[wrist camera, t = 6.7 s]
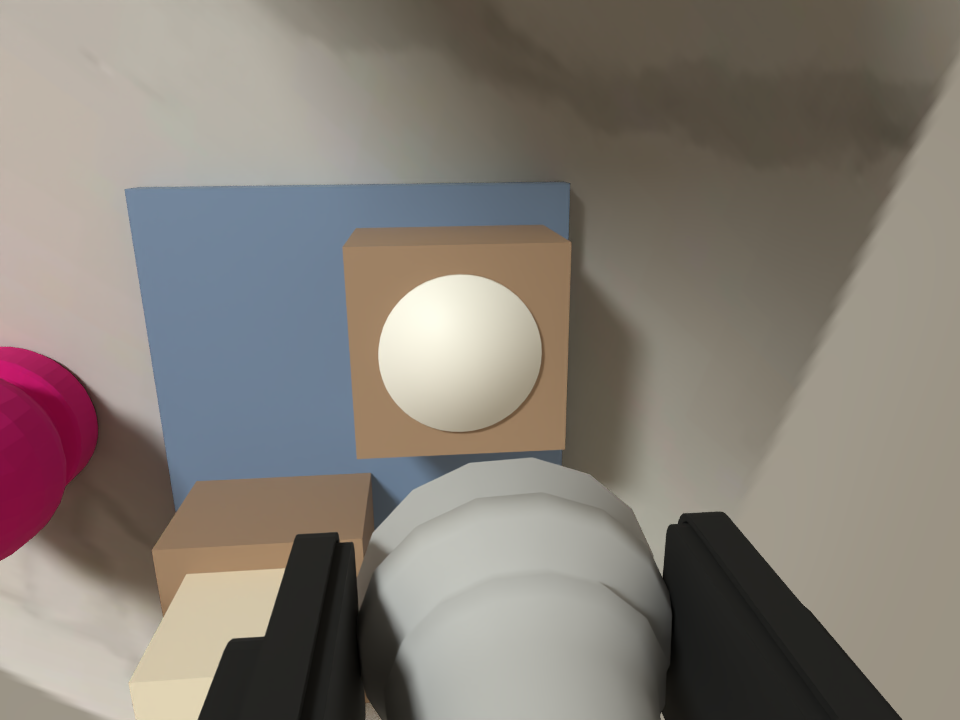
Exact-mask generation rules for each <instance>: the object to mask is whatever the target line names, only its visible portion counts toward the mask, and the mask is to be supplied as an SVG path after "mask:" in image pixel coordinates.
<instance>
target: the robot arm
mask: <svg viewBox="0 0 960 720" xmlns="http://www.w3.org/2000/svg"><path fill="white" fill-rule="evenodd" d="M663 580H664V582H665V585H666V587H667V589H668V591H669V593H670V601H671V610H672V628H671V655H670V666H669V668H668V670H667V672H666V700H665V706H664V708H663V710H662V714H663V716H664V718H665V720H902V719H901V717H900V716H899V715H898V714H897V713H896V711H895V710H894V709H893V708H892V707H891V706H890V704H889V703H888V702H887V701H886V700H885V699H884V697H883V696H882V695H881V694H880V693H879V692H878V690H877V689H876V688H875V687H874V686H873V684H872V683H871V682H870V681H869V680H868V679H867V677H866V676H865V675H864V674H863V673H862V672H861V670H860V669H859V668H858V667H857V666H856V664H855V663H854V662H853V661H852V660H851V659H850V657H849V656H848V655H847V654H846V653H845V651H844V650H843V649H842V648H841V647H840V645H839V644H838V643H837V642H836V641H835V640H834V638H833V637H832V636H831V635H830V634H829V633H828V631H827V630H826V629H825V628H824V627H823V625H822V624H821V623H820V622H819V621H818V620H817V618H816V617H815V616H814V615H813V614H812V612H811V611H809V610H808V609H807V608H806V607H805V606H804V605H803V604H802V603H801V602H800V601H799V600H798V599H797V597H796V596H795V595H794V594H793V593H792V592H791V590H790V589H789V588H788V587H787V586H786V584H785V583H784V582H783V581H782V580H781V579H780V577H779V576H778V575H777V574H776V573H775V571H774V570H773V569H772V568H771V567H770V565H769V564H768V563H767V562H766V561H765V560H764V558H763V557H762V556H761V555H760V554H759V553H758V551H757V550H756V549H755V548H754V546H753V545H752V544H751V543H750V542H749V541H748V539H747V538H746V537H745V536H744V535H743V533H742V532H741V531H740V530H739V529H738V528H737V526H736V525H735V524H734V523H733V522H732V520H731V519H730V518H729V517H728V516H727V515H726V514H725V513H724V512H702V513H683V514H682V515H681V516H680V519H679V521H678V524H671V525H669V526H668V529H667V533H666V544H665V556H664V568H663ZM358 613H359V604H358V590H357V576H356V562H355V549H354V543H353V542H340V539H339V534H338V532H327V533H309V534H297V535H296V537H295V539H294V542H293V545H292V549H291V552H290V555H289V558H288V562H287V565H286V568H285V571H284V575H283V578H282V581H281V584H280V588H279V591H278V594H277V597H276V601H275V604H274V607H273V610H272V614H271V617H270V620H269V623H268V627H267V630H266V633H265V636H263V637H248V638H233V639H231V640H230V641H229V642H228V643H227V645H226V647H225V649H224V651H223V654H222V657H221V659H220V662H219V664H218V667H217V670H216V672H215V675H214V678H213V680H212V683H211V685H210V688H209V691H208V693H207V696H206V699H205V701H204V704H203V707H202V709H201V712H200V714H199V717H198V720H365V690H364V686H363V683H362V679H361V673H360V663H359V653H358V644H357V634H356V625H357V616H358Z"/></svg>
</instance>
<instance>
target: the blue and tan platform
mask: <svg viewBox="0 0 960 720" xmlns="http://www.w3.org/2000/svg"><path fill="white" fill-rule="evenodd" d="M125 195H126V202H127V208H128V214H129V221H130V227H131V233H132V240H133V246H134V252H135V259H136V265H137V271H138V278H139V284H140V290H141V296H142V303H143V309H144V315H145V322H146V328H147V334H148V341H149V347H150V353H151V360H152V366H153V372H154V379H155V385H156V391H157V398H158V404H159V410H160V417H161V423H162V429H163V436H164V442H165V448H166V455H167V461H168V467H169V474H170V480H171V486H172V492H173V499H174V505H175V511H176V513H175V515H174V517H173V518H172V520H171V521H170V523H169V524H168V526H167V527H166V529H165V530H164V532H163V534H162V535H161V537H160V538H159V540H158V541H157V543H156V544H155V546H154V547H153V549H152V556H153V561H154V567H155V573H156V579H157V584H158V590H159V596H160V602H161V608H162V613H163V619H162V621H161V623H160V625H159V627H158V628H157V630H156V632H155V634H154V636H153V638H152V640H151V642H150V644H149V645H148V647H147V649H146V651H145V653H144V655H143V657H142V659H141V660H140V662H139V664H138V666H137V668H136V670H135V672H134V674H133V675H132V677H131V679H130V681H129V688H130V693H131V698H132V703H133V708H134V713H135V718H136V720H198V717H199V714H200V712H201V709H202V707H203V704H204V701H205V699H206V696H207V693H208V691H209V688H210V685H211V683H212V680H213V678H214V675H215V672H216V670H217V667H218V664H219V662H220V659H221V657H222V654H223V651H224V649H225V647H226V645H227V643H228V642H229V641H230V640H231V639H233V638H248V637H263V636H265V633H266V630H267V627H268V623H269V620H270V617H271V614H272V610H273V607H274V604H275V601H276V597H277V594H278V591H279V588H280V584H281V581H282V578H283V575H284V571H285V568H286V565H287V562H288V558H289V555H290V552H291V549H292V545H293V542H294V539H295V537H296V535H297V534H309V533H327V532H338V534H339V539H340V542H353V543H354V549H355V562H356V576H358V573H359V571H360V568H361V565H362V562H363V559H364V556H365V553H366V550H367V547H368V545H369V542H370V539H371V536H372V533H373V532H374V531H375V530H376V529H377V528H378V527H379V526H380V524H381V523H382V522H383V521H384V520H385V519H386V518H387V517H388V516H389V515H390V514H391V513H392V512H393V511H394V509H395V508H396V507H397V506H398V505H399V504H400V503H401V502H402V501H403V500H404V499H405V498H406V497H407V496H408V494H409V493H410V492H411V491H412V490H414V489H416V488H418V487H420V486H422V485H424V484H426V483H428V482H430V481H432V480H435V479H437V478H439V477H441V476H443V475H445V474H447V473H449V472H451V471H453V470H456V469H458V468H460V467H462V466H464V465H466V464H468V463H474V462H485V461H497V460H508V459H520V458H536V459H539V460H543V461H546V462H550V463H553V464H557V465H560V466H562V450H565V434H566V402H567V370H568V339H569V307H570V275H571V243H572V242H570V241H568V237H569V204H570V183H567V182H507V183H433V184H358V185H283V186H208V187H137V188H131V189H125ZM365 703H370V701H369V700H368V698H367V697H366V693H365Z"/></svg>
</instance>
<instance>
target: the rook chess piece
mask: <svg viewBox="0 0 960 720" xmlns="http://www.w3.org/2000/svg"><path fill="white" fill-rule="evenodd" d="M357 590H358V604H359V613H358V616H357V625H356V634H357V644H358V653H359V663H360V673H361V679H362V683H363V686H364V690H365V693H366V697H367V698H368V700H369V701H370V703H371V704H372V706H373V707H374V709H375V710H376V712H377V713H378V715H379V716H380V718H381V719H382V720H661V718H660V714H661V712H662V710H663V708H664V706H665V700H666V672H667V670H668V668H669V666H670V655H671V628H672V610H671V601H670V593H669V591H668V589H667V587H666V585H665V582H664V580H663V578H662V576H661V574H660V572H659V569H658V567H657V565H656V563H655V561H654V559H653V553H652V551H651V549H650V547H649V545H648V543H647V540H646V538H645V536H644V534H643V532H642V530H641V527H640V525H639V523H638V521H637V519H636V517H635V514H634V512H633V510H632V509H631V508H630V507H629V506H628V505H626V504H625V503H624V502H623V501H622V500H620V499H619V498H618V497H617V496H616V495H614V494H613V493H612V492H611V491H610V490H608V489H607V488H606V487H605V486H603V485H602V484H601V483H600V482H599V481H597V480H596V479H595V478H594V477H593V476H591V475H590V474H588V473H584V472H581V471H577V470H574V469H570V468H567V467H563V466H560V465H557V464H553V463H550V462H546V461H543V460H539V459H536V458H520V459H508V460H497V461H485V462H474V463H468V464H466V465H464V466H462V467H460V468H458V469H456V470H453V471H451V472H449V473H447V474H445V475H443V476H441V477H439V478H437V479H435V480H432V481H430V482H428V483H426V484H424V485H422V486H420V487H418V488H416V489H414V490H412V491H411V492H410V493H409V494H408V496H407V497H406V498H405V499H404V500H403V501H402V502H401V503H400V504H399V505H398V506H397V507H396V508H395V509H394V511H393V512H392V513H391V514H390V515H389V516H388V517H387V518H386V519H385V520H384V521H383V522H382V523H381V524H380V526H379V527H378V528H377V529H376V530H375V531H374V532H373V533H372V536H371V539H370V542H369V545H368V547H367V550H366V553H365V556H364V559H363V562H362V565H361V568H360V571H359V573H358V576H357Z"/></svg>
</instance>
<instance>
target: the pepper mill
mask: <svg viewBox="0 0 960 720" xmlns="http://www.w3.org/2000/svg"><path fill="white" fill-rule="evenodd" d="M97 438H98V424H97V416H96V412H95V409H94V406H93V404H92V402H91V399H90V397H89V396H88V394H87V392H86V390H85V388H84V387H83V386H82V385H81V384H80V383H79V381H78V380H77V379H76V378H75V377H74V376H73V375H72V374H71V373H70V372H69V371H68V370H66V369H65V368H63V367H62V366H61V365H59V364H58V363H56V362H55V361H54V360H52V359H50V358H47V357H45V356H43V355H41V354H38V353H35V352H33V351H30V350H26V349H21V348H14V347H0V561H1V560H3V559H5V558H6V557H8V556H10V555H12V554H13V553H14V552H15V551H17V550H18V549H19V548H20V547H22V546H23V545H24V544H25V543H27V542H28V541H29V540H30V539H32V538H33V537H34V536H35V535H36V534H37V533H38V532H39V531H40V530H41V529H42V528H43V527H44V526H45V525H46V524H47V523H48V522H49V520H50V519H51V517H52V516H53V514H54V512H55V511H56V509H57V507H58V506H59V504H60V502H61V499H62V496H63V493H64V490H65V486H66V485H67V484H68V483H69V482H70V481H71V480H72V479H73V478H74V477H75V476H76V475H77V474H78V473H79V472H80V471H81V470H83V468H84V467H85V466H86V465H87V463H88V462H89V460H90V458H91V456H92V455H93V453H94V450H95V446H96V443H97Z"/></svg>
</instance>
